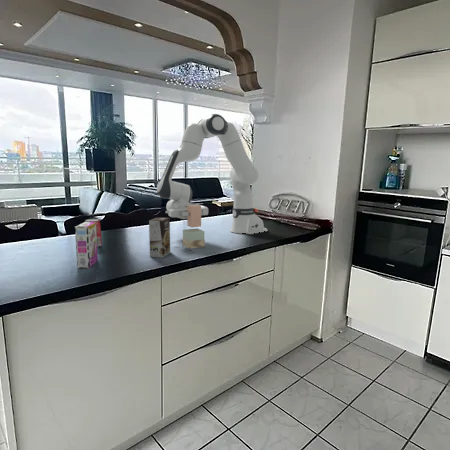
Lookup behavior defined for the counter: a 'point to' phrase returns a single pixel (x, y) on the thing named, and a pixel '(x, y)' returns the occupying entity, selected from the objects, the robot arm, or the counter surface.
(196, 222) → the coral block
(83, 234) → the candy bar box
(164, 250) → the coffee box
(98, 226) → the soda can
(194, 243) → the oak slab
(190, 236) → the sage slab
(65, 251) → the counter surface
